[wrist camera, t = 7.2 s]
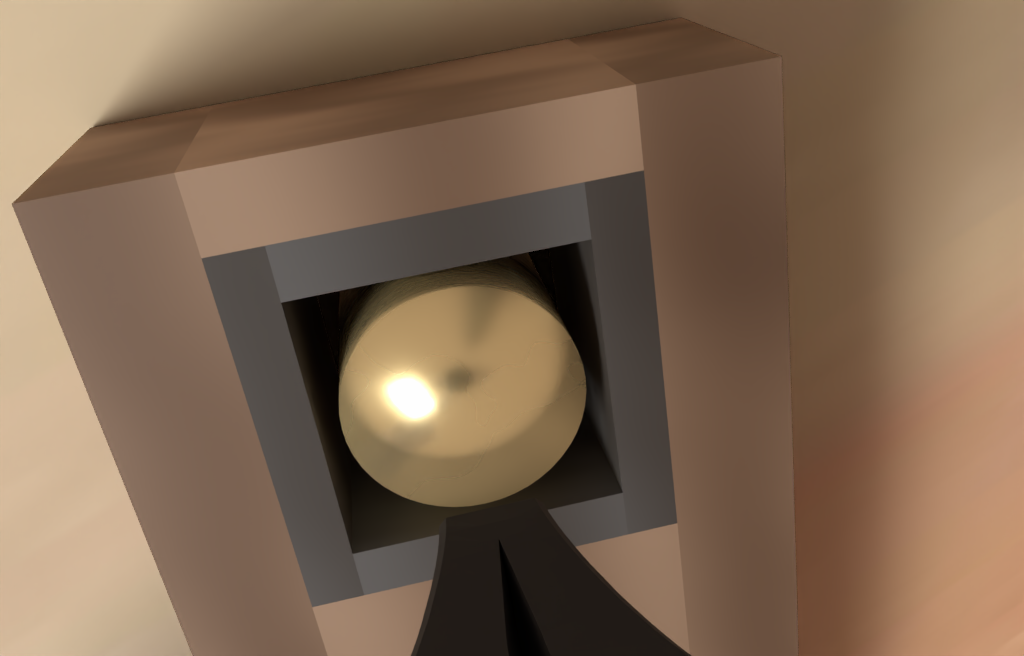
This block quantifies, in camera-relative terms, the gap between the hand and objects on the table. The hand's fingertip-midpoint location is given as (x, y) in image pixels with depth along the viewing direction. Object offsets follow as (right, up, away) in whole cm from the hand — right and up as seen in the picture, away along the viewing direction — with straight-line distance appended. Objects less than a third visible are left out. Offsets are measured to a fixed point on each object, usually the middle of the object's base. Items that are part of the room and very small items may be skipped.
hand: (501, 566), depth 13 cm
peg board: (-1, -1, +11) cm, 11 cm away
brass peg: (-2, +4, +8) cm, 10 cm away
